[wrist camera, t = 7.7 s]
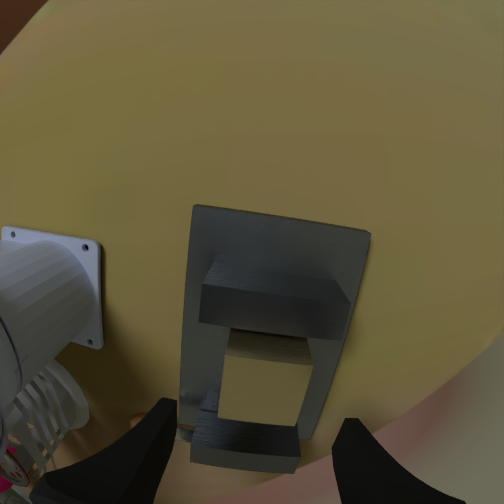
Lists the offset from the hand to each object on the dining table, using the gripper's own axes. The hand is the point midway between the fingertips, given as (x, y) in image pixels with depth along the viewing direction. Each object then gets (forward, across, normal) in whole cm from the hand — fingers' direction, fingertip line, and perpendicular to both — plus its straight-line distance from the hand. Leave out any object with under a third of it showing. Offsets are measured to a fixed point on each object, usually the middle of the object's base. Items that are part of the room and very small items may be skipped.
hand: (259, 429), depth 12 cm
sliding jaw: (+7, +2, +7) cm, 10 cm away
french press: (+9, +18, +11) cm, 23 cm away
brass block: (+7, 0, 0) cm, 7 cm away
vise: (+8, 0, 0) cm, 8 cm away
